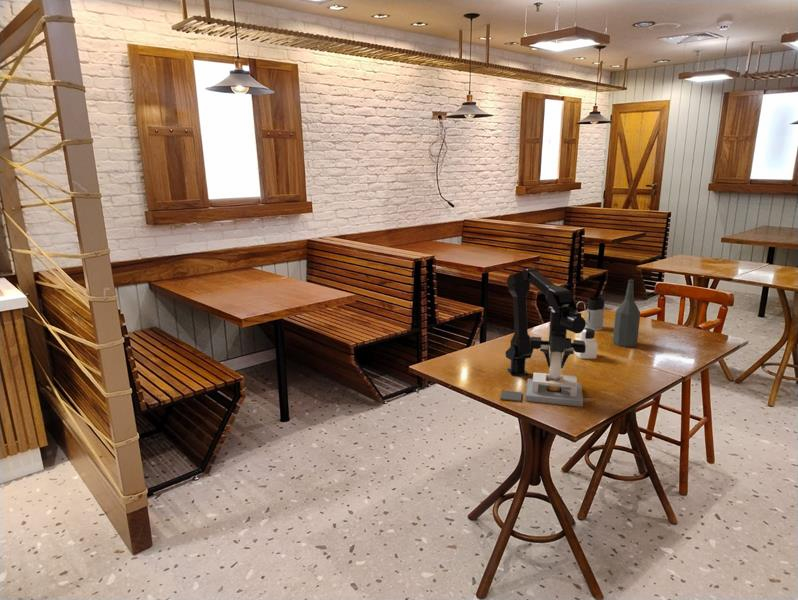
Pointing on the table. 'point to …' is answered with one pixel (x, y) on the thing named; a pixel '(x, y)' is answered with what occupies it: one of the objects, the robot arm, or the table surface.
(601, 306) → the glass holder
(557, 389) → the button
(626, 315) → the bottle
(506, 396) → the pad
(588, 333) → the medicine bottle
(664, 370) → the table surface
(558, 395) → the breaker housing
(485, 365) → the table surface
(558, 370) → the white cylinder
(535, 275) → the robot arm
